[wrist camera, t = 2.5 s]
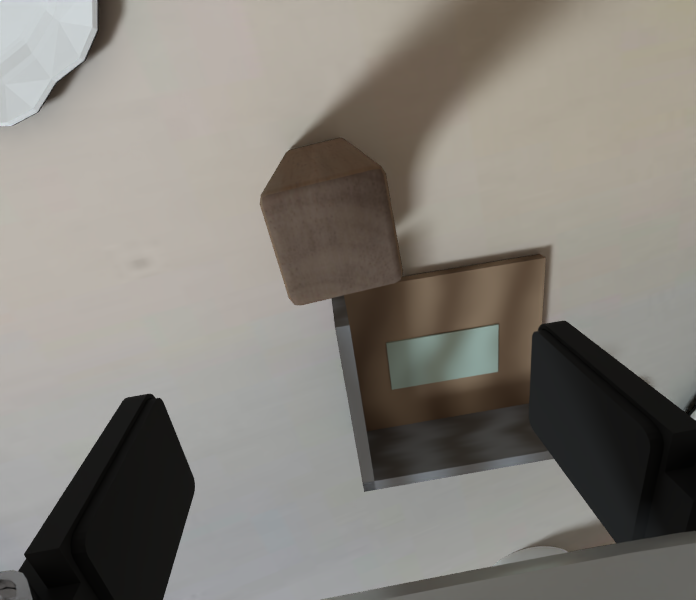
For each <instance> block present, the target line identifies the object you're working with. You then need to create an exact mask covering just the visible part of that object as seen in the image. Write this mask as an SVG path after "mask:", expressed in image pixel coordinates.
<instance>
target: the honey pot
mask: <svg viewBox="0 0 696 600" xmlns="http://www.w3.org/2000/svg"><path fill="white" fill-rule="evenodd" d="M567 552H568V551H566V550H564V549H561V548H557V547H553V546H537V547H531V548H525V549H522V550H519V551H517V552H514V553H512V554H510V555H508V556H506V557H504V558H502V559H501V560H499V561H498V562H497V563H496V564H494V565H493V566H498V565H503V564H508V563H514V562H519V561H524V560H529V559H535V558H540V557H545V556H551V555H556V554H561V553H567Z"/></svg>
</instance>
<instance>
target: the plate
mask: <svg viewBox="0 0 696 600" xmlns="http://www.w3.org/2000/svg"><path fill="white" fill-rule="evenodd" d="M97 33H98V0H0V126H13V125H15V124H17V123H19V122H21V121H23V120H25V119H27V118H28V117H30V116H32V115H34V114H36V113H38V112H39V111H40V109H41V108H42V106H43V104H44V103H45V101H46V100H47V98H48V96H49V95H50V93H51V92H52V90H53V88H54V87H55V85H56V84H57V82H58V81H60V80H61V79H62V78H63V77H65V76H66V75H67V74H69V73H70V72H71V71H72V70H74V69H75V68H76V67H78V66H79V65H80V64H81V63H83V62H84V61H85V60H86V58H87V56H88V53H89V51H90V49H91V46H92V44H93V42H94V40H95V37H96V35H97Z"/></svg>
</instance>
